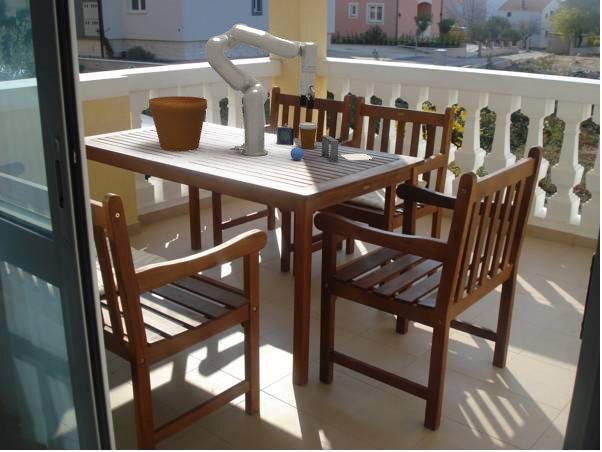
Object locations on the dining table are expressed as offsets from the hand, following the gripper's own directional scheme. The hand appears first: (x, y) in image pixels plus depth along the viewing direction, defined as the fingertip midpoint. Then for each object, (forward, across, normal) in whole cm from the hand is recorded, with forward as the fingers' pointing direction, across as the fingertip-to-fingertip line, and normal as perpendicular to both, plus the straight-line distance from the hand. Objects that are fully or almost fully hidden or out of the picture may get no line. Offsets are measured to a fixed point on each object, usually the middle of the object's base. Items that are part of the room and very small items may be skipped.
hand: (306, 107), depth 325 cm
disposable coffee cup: (+24, -20, +9) cm, 32 cm away
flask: (+24, -30, 0) cm, 38 cm away
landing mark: (+23, +9, +24) cm, 34 cm away
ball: (+20, +8, -6) cm, 23 cm away
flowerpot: (+25, -34, -54) cm, 68 cm away
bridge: (+23, +8, +10) cm, 26 cm away
